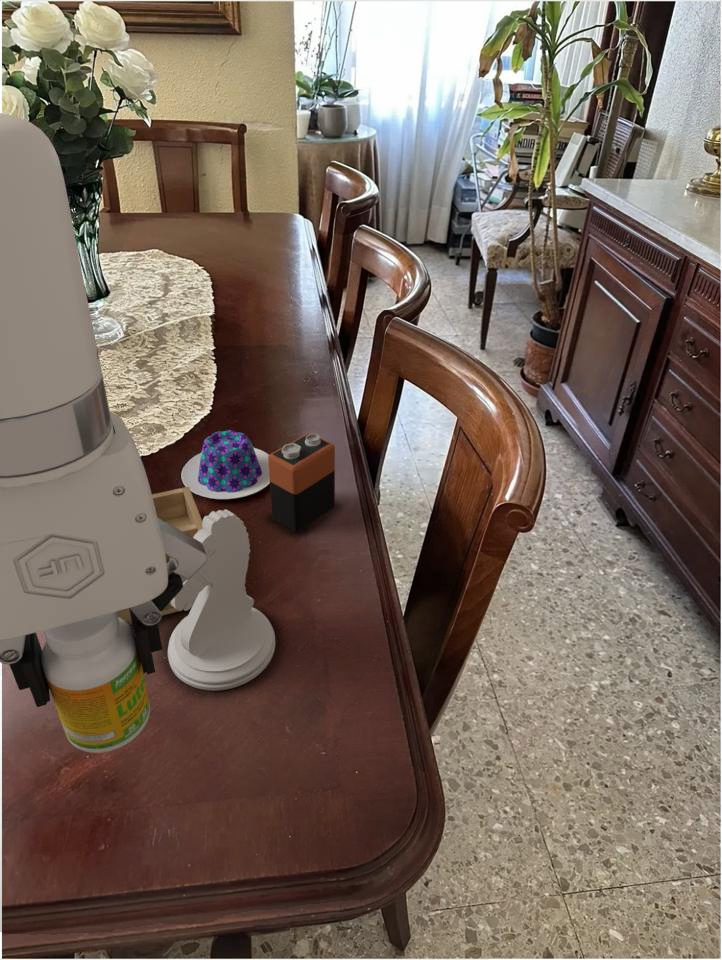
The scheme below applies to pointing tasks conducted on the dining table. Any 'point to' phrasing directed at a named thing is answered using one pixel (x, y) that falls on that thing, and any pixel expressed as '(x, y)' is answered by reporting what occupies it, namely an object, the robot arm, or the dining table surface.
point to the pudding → (227, 467)
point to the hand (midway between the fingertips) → (95, 669)
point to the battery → (302, 481)
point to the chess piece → (220, 614)
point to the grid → (178, 513)
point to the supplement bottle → (96, 682)
